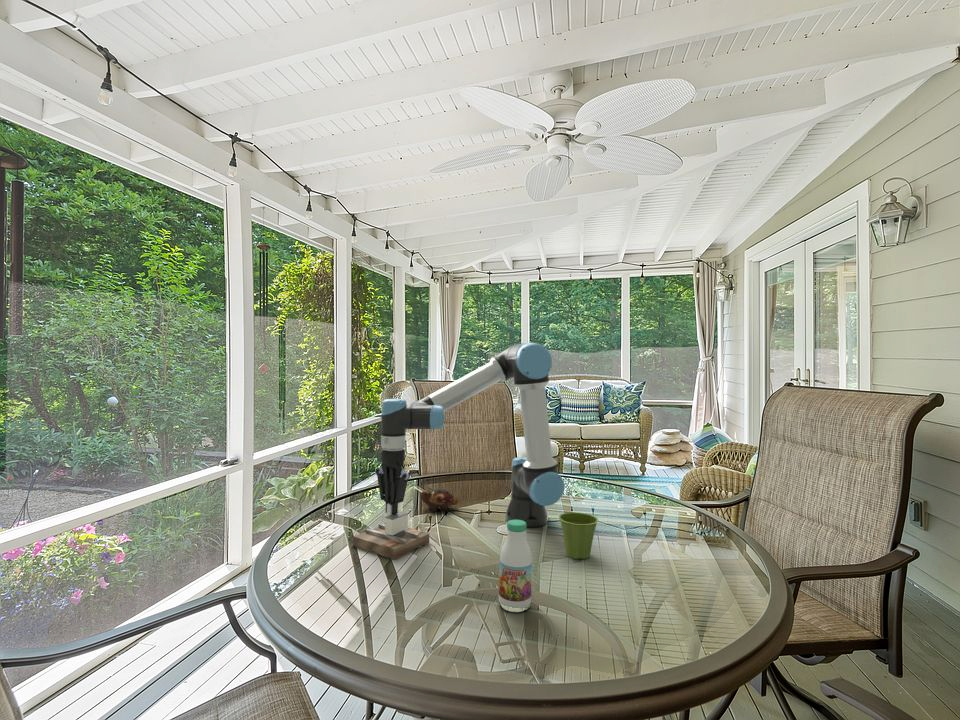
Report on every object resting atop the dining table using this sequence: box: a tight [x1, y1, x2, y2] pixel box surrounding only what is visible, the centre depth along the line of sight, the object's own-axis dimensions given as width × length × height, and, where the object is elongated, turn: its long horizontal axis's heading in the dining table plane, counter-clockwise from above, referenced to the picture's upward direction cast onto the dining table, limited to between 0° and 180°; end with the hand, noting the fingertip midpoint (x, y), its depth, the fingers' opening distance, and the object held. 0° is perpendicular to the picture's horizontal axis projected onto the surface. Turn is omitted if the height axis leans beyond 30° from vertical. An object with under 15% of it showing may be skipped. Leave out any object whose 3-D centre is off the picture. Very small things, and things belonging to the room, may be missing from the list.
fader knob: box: [384, 510, 409, 537], centre depth 152 cm, size 3×7×6 cm, turn 147°
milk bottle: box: [498, 520, 533, 608], centre depth 117 cm, size 8×8×20 cm
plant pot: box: [558, 511, 599, 560], centre depth 149 cm, size 12×12×11 cm
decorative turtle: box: [420, 488, 460, 513], centre depth 190 cm, size 10×15×8 cm, turn 115°
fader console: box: [352, 523, 430, 560], centre depth 153 cm, size 17×16×4 cm
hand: (391, 523), depth 154 cm, fingers closed
